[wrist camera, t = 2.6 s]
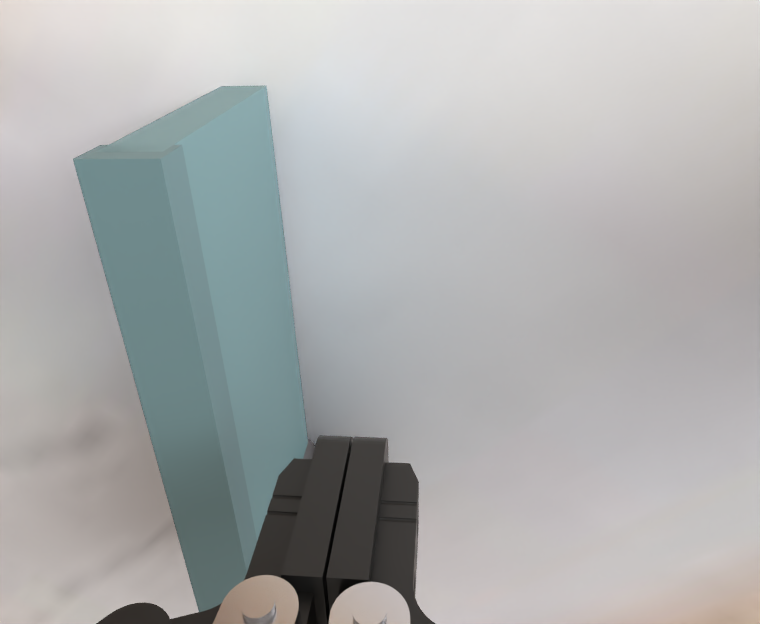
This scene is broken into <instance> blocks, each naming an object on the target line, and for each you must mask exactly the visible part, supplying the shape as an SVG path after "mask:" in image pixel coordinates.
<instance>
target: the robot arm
mask: <svg viewBox="0 0 760 624" xmlns="http://www.w3.org/2000/svg"><path fill="white" fill-rule="evenodd" d="M418 500H419V482H418V480H417V477H416V475H415V473H414V471H413V469H412V467H411V465H410V464H408V463H388V439H387V438H369V437H354V439H353V437H342V436H319V437H318V440H317V443H316V447H315V450H314V454H313V458H312V459H296V458H294V459H293V460H292V461H291V462H290V463H289V464H288V466H287V467H286V468H285V469H284V470H283V471H282V472H281V473H280V474H279V476H278V479H277V482H276V486H275V489H274V492H273V496H272V499H271V501H270V504H269V507H268V510H267V515H266V516H265V519H264V522H263V525H262V528H261V531H260V534H259V537H258V540H257V543H256V547H255V550H254V553H253V556H252V559H251V562H250V565H249V568H248V571H247V574H246V576H245V579H244V581H242V582H241V583H239V584H238V585H236V586H235V587H234V588H233V589H232V590H231V591H230V592H229V593H228V594H227V595H226V597H225V598H224V600H223V602H222V603H221V604H219V605H218V606H216V607H213V608H211V609H209V610H206V611H202V612H198V613H194V614H190V615H186V616H182V617H178V618H173V619H169V616H168V615H167V613H166V612H165V611H164V610H163V609H162V608H160V607H159V606H157V605H154V604H151V603H135V604H130V605H127V606H124V607H122V608H120V609H118V610H116V611H114V612H113V613H111V614H109V615H108V616H106V617H105V618H104V619H102V620H101V621H99V622H98V623H97V624H435V623H434V622H432V621H431V620H430V619H429V618H428V617H427V616H425V614H424V613H423V612H422V611H421V609H420V607H419V606H418V604H417V602H416V599H415V588H416V568H417V547H418Z"/></svg>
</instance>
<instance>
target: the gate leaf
mask: <svg viewBox="0 0 760 624" xmlns="http://www.w3.org/2000/svg"><path fill="white" fill-rule="evenodd" d="M73 161H74V164H75V168H76V172H77V175H78V179H79V182H80V186H81V190H82V193H83V197H84V200H85V204H86V208H87V211H88V215H89V218H90V222H91V225H92V229H93V233H94V236H95V240H96V243H97V247H98V251H99V254H100V258H101V261H102V265H103V269H104V272H105V276H106V279H107V283H108V287H109V290H110V294H111V297H112V301H113V304H114V308H115V312H116V315H117V319H118V322H119V326H120V330H121V333H122V337H123V340H124V344H125V348H126V351H127V355H128V358H129V362H130V366H131V369H132V373H133V376H134V380H135V384H136V387H137V391H138V394H139V398H140V401H141V405H142V409H143V412H144V416H145V419H146V423H147V427H148V430H149V434H150V437H151V441H152V445H153V448H154V452H155V455H156V459H157V463H158V466H159V470H160V473H161V477H162V480H163V484H164V488H165V491H166V495H167V498H168V502H169V506H170V509H171V513H172V516H173V520H174V524H175V527H176V531H177V534H178V538H179V542H180V545H181V549H182V552H183V556H184V559H185V563H186V567H187V570H188V574H189V577H190V581H191V585H192V588H193V592H194V595H195V599H196V603H197V606H198V610H199V612H202V611H206V610H209V609H211V608H213V607H216V606H218V605H219V604H221V603H222V602H223V600H224V598H225V597H226V595H227V594H228V593H229V592H230V591H231V590H232V589H233V588H234V587H235V586H236V585H238V584H239V583H241V582H242V581H244V579H245V576H246V574H247V571H248V568H249V565H250V562H251V559H252V556H253V553H254V550H255V547H256V543H257V540H258V537H259V534H260V531H261V528H262V525H263V522H264V519H265V516H266V515H267V510H268V507H269V504H270V501H271V499H272V496H273V492H274V489H275V486H276V482H277V479H278V476H279V474H280V473H281V472H282V471H283V470H284V469H285V468H286V467H287V466H288V464H289V463H290V462H291V461H292V460H293V459H294V458H296V459H312V458H313V454H314V450H315V447H314V445H313V443H312V442H311V441H310V440H309V439H308V438H307V429H306V421H305V412H304V404H303V395H302V387H301V378H300V370H299V361H298V352H297V344H296V335H295V327H294V318H293V310H292V301H291V293H290V284H289V276H288V267H287V258H286V250H285V241H284V233H283V224H282V216H281V207H280V199H279V190H278V182H277V173H276V164H275V156H274V147H273V139H272V130H271V122H270V113H269V105H268V96H267V88H266V86H221V87H219V88H217V89H215V90H214V91H212V92H210V93H208V94H206V95H204V96H202V97H200V98H198V99H196V100H194V101H192V102H190V103H189V104H187V105H185V106H183V107H181V108H179V109H177V110H175V111H173V112H171V113H169V114H167V115H165V116H164V117H162V118H160V119H158V120H156V121H154V122H152V123H150V124H148V125H146V126H144V127H142V128H140V129H139V130H137V131H135V132H133V133H131V134H129V135H127V136H125V137H123V138H121V139H119V140H117V141H115V142H114V143H112V144H110V145H100V146H98V147H96V148H94V149H92V150H90V151H88V152H86V153H84V154H82V155H80V156H78V157H76V158H74V159H73Z"/></svg>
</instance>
